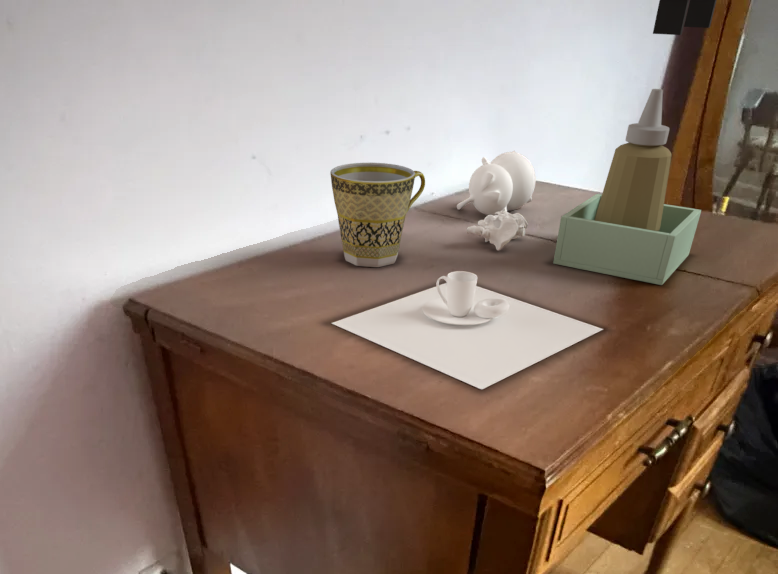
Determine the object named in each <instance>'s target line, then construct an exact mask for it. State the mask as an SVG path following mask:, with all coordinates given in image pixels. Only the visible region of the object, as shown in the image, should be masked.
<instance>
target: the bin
mask: <svg viewBox="0 0 778 574" xmlns="http://www.w3.org/2000/svg"><path fill="white" fill-rule="evenodd" d="M601 196H602V194H601V193H596V194H594V195H593V196H591V197H589V198H588V199H587V200H585V201H583V202H581V203H580V204H579V205H577V206H575V207H574V208H572V209H571V210H570V211H568V212H566V213H565V214H563V215H561V217H560V221H559V227H558V233H557V239H556V245H555V250H554V257H553V262H552V263H553V264H554V265H558V266H563V267H568V268H574V269H579V270H583V271H588V272H593V273H599V274H603V275H609V276H612V277H613V276H614V277H618V278H623V279H624V278H625V279H628V280H634V281H638V282H643V283H648V284H652V285H659V286H663V285H664V284H665V283H666V281H667V280H668V279H669V278H670V277H671V276H672V275H673V273H674V272H676V270H677V269H678V268H679V267H680V266H681V265H682V264H683V262H684V261H685V260H686V259H687V258H688V257H689V255H690V253H691V252H690V251H691V248H692V246H693V241H694V238H695V236H696V235H695V234H696V231H697V228H698V224H699V220H700V217H701V213H702V209H697V208H692V207H686V206H678V205H673V204H666V203H664V207H663V213H662V219H661V226H660V230H659V231H653V230H647V229H641V228H635V227H629V226H623V225H618V224H612V223H606V222H600V221H594V220H595V217H596V213H597V210H598V207H599V203H600V200H601Z"/></svg>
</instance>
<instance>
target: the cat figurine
mask: <svg viewBox="0 0 778 574" xmlns="http://www.w3.org/2000/svg"><path fill="white" fill-rule="evenodd" d="M481 163H482V165H480V166H479V167H477V168H476V169H475V170H474V171H473V173H472V174H471V176H470V179H469V182H468V194H469V197H467V198H466V199H464V200H462V201H460V202H459V203H457V204H456V208H457V210H458V211H459V210H461V209H463V208H464V207H466V206H467V205H468V204H470V203H472V205H473V207H474V208H475V209H476V210H477V211H478V212H479V213H480V214H483V215H485V216H488V215H493V216H494V215H495V213H496V212H500V211H501V210H503V211H506V212H510V211H516V210H518V209H520V208H522V207H523V206H524V205H526V204H528V203H531V202H532V201H533V198H532V197H533V194H534V191H535V187H536V182H537V181H536V180H537V179H536V177H537V176H536V171H535V168H534V165H533V164H532V162H531V161H530V160H529V158H527V157H526V156H525V155H523V154H522V153H519V152H516V151H515V150H513V151H507V152H502V153H501V154H498V155H497V156H495V158H493V159H492V161H490V160H489V159H488V158H487V157H485V156H483V157H482V158H481Z"/></svg>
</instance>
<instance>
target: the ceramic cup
mask: <svg viewBox="0 0 778 574" xmlns="http://www.w3.org/2000/svg"><path fill="white" fill-rule="evenodd" d="M329 175H330V182H331V188H332V195H333V201H334V207H335V211H336V214H337V220H338V221H337V222H338V227H339V232H340V238H341V244H342V251H343V256H344V259H345V261H346V262H348V263H349V264H352V265H354V266H355V267H368V268H370V267H371V268H379V267H385V266H389V265H393V264H394V265H395V263H396V261H397V258H398V255H399V251H400V245H401V239H402V234H403V231H404V225H405V220H406V215H407V213H408V212H409V210H410V208H411V207H412V205H413V204H414V203H415V202H416V201H417V200H418V199H419V197H420V196H421V195H422V193H423V192H424V190H425V187H426V178H425V175H424V173H423V172H422V171H419V170H413V169H411V168H409V167H407V166H404V165H399V164H395V163H386V162H354V163H345V164H341V165H337V166H335V167H333V168H332V169H331V170H330V173H329ZM417 177H419V178H420V186H419V189H418V190H417V192H416V193H415V194H414V195H413V190H414V184H415V180H416V178H417ZM412 195H413V196H412Z"/></svg>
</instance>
